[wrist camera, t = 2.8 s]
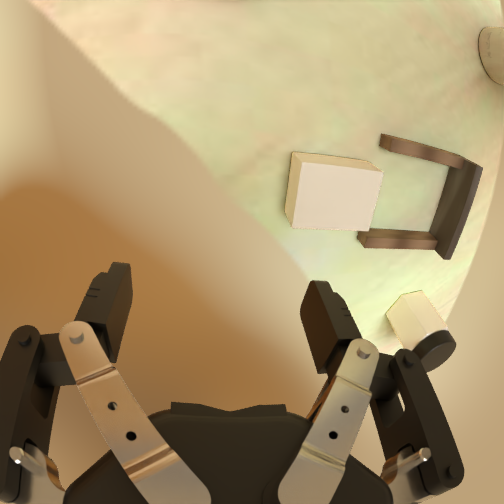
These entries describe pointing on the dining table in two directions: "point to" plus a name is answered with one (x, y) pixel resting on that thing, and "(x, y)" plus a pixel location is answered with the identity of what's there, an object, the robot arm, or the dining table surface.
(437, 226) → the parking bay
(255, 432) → the robot arm
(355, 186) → the white rectangular block
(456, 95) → the dining table surface
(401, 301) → the jar
